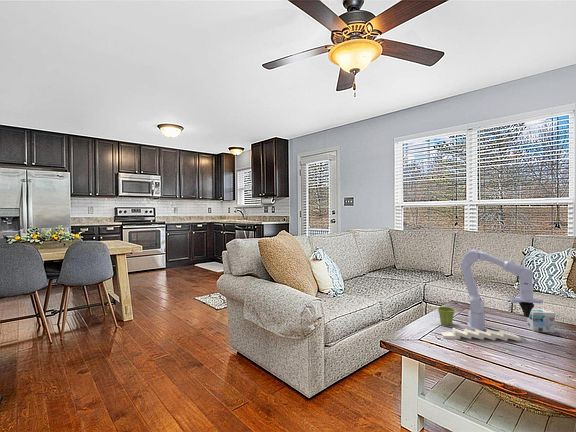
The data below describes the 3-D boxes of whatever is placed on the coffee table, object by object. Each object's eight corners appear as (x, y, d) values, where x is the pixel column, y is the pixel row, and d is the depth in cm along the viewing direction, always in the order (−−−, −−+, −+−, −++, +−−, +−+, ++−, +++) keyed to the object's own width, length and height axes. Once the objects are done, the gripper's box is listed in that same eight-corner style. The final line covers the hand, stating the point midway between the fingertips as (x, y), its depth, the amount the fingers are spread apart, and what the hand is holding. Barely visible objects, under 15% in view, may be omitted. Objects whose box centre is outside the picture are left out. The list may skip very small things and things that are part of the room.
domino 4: (495, 340, 162) (478, 335, 163) (490, 336, 167) (474, 331, 168) (496, 337, 162) (479, 332, 163) (491, 333, 167) (475, 328, 168)
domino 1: (460, 338, 165) (444, 339, 166) (457, 335, 170) (441, 335, 171) (460, 335, 165) (443, 335, 166) (456, 332, 170) (441, 332, 171)
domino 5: (507, 341, 161) (490, 335, 162) (502, 337, 166) (486, 332, 167) (508, 338, 161) (491, 332, 162) (503, 334, 166) (487, 329, 167)
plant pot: (442, 319, 195) (441, 305, 195) (458, 323, 187) (457, 308, 187) (434, 323, 189) (434, 308, 189) (451, 327, 182) (450, 312, 181)
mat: (452, 334, 172) (452, 334, 172) (522, 337, 166) (522, 336, 166) (457, 340, 164) (457, 340, 164) (531, 343, 158) (531, 343, 158)
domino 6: (519, 341, 160) (502, 336, 161) (514, 337, 165) (498, 332, 166) (520, 338, 160) (503, 333, 161) (515, 334, 165) (499, 329, 166)
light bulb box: (532, 331, 173) (532, 311, 172) (526, 327, 179) (526, 308, 179) (555, 332, 170) (555, 312, 170) (548, 328, 177) (548, 309, 176)
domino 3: (483, 340, 163) (467, 335, 164) (479, 336, 168) (463, 331, 169) (484, 337, 163) (468, 332, 164) (480, 333, 168) (464, 328, 169)
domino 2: (470, 339, 164) (454, 333, 165) (467, 335, 169) (451, 330, 170) (471, 336, 164) (455, 331, 165) (468, 332, 169) (452, 327, 170)
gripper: (514, 292, 164) (515, 318, 164) (546, 293, 161) (546, 319, 162) (507, 289, 171) (508, 314, 171) (538, 289, 168) (538, 314, 168)
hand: (526, 316), depth 167 cm, fingers closed
